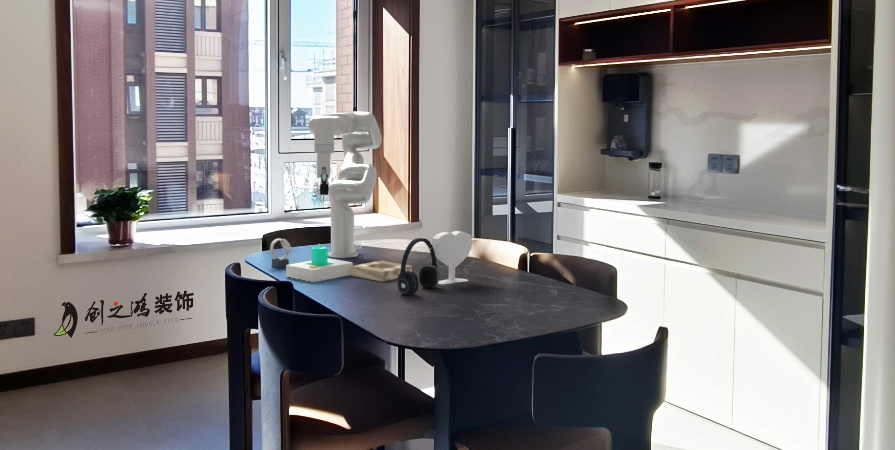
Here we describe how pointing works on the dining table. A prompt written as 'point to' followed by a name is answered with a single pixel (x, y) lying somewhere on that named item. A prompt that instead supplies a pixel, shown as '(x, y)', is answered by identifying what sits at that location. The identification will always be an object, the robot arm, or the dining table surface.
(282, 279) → the dining table surface
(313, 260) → the candle
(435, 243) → the heart sculpture
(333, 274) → the port block
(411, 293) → the headphones
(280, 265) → the watch
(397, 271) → the beige compartment tray
